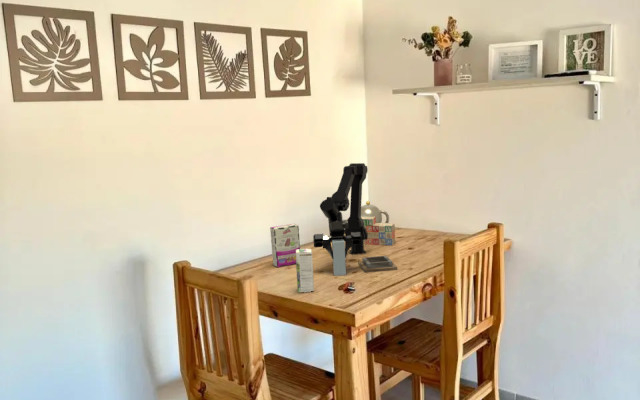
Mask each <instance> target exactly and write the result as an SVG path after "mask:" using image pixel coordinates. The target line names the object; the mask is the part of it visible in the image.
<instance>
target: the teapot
mask: <svg viewBox="0 0 640 400" xmlns="http://www.w3.org/2000/svg"><path fill="white" fill-rule="evenodd" d="M383 215H385V218H386V220H385V222H384V223H389V222H390V215H389V213H388V212H387V211H385V210H383V209H379V208H378V207H377V206H375V205H374V204H371V201H369V200H367V201H365V204H363V205H361V217H375V218H376V223H383V222H382V221H383Z"/></svg>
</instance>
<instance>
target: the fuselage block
mask: <svg viewBox="0 0 640 400" xmlns="http://www.w3.org/2000/svg"><path fill="white" fill-rule="evenodd" d="M331 247H332V251H333V259H332V264H333V265H332V267H333V270H332V271H333V276H334V277H335V276H347V267H346V258H345V241H344V239H341V240H332V242H331Z"/></svg>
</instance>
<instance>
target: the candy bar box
mask: <svg viewBox="0 0 640 400" xmlns="http://www.w3.org/2000/svg"><path fill="white" fill-rule="evenodd" d="M269 229H270V238H271V239H270V241H271V242H270V243H271V253H272V255H271V256H272V266H273V267H276V268H282V267H287V266H292V265H296V250H297V249H301V244H300V232H299V231H300V228H299V225H298V224H296V223H290V224H284V225H278V226H271V227H270V228H269Z"/></svg>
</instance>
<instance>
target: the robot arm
mask: <svg viewBox="0 0 640 400" xmlns="http://www.w3.org/2000/svg"><path fill="white" fill-rule="evenodd" d="M367 174H368V166H367V165H366V164H365V163H364V162H363V163H361V162H359V163H352V162H351V163H350V164H349V165H345V166H344V167H343V173H342V176H341V179H340V182H339V184H338V187H337V190H336V191H334V193H333V194H332V195H331V196H327V197H326V198H325V199H324V200H322V201H321V203H320V204H319V208H320V210H321V212H322V213H323V215H324V216H325V218H327V219H328V220H327V221H328V231H329V232H328V233H329V235H324V233H317V234H316V233H315V234H313V235H312V236H313V239H312V240H313V247H314V248H322V249H325V250H326V252H328V254H329V256H330V257H331V259H332V260H333V250H332V240H341V239H344V242H345V259H347V256H348V252H349V253H350V254H351V255H362V254H366V253H367V251H366V250H365V246H364V241H363V240H366V239H367V238H368V233H367V231H366V229H365V227H364V222H363V220H362V218H361V206H362V194H363V183H364V181H365V180H366V179H367ZM349 194H350V200H349ZM349 207H350V208H349ZM348 209H350V210H349V217H348V218H347V219H348V220H347V219H343V213H342V212H346V211H348Z"/></svg>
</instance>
